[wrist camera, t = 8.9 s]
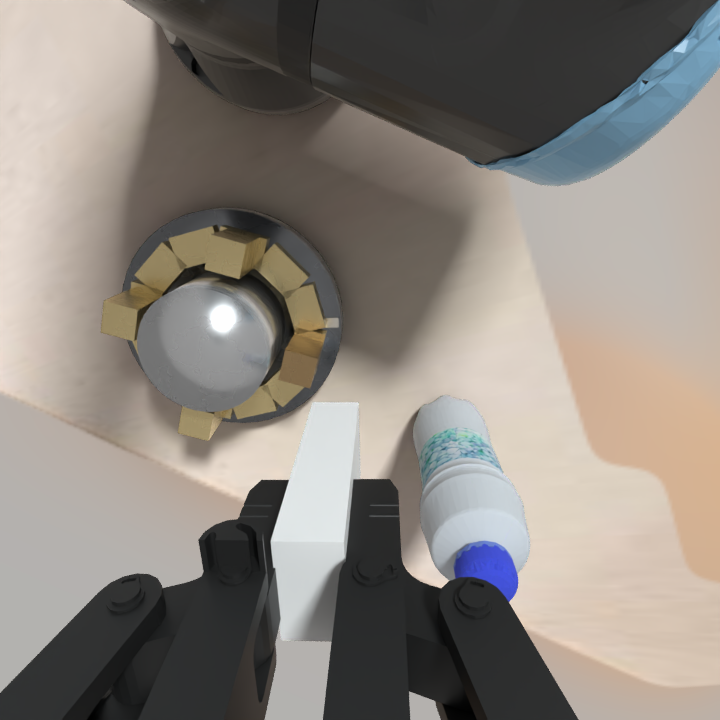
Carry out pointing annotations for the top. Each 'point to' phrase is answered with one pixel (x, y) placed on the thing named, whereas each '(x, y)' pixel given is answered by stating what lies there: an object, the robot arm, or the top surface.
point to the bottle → (468, 498)
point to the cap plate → (292, 249)
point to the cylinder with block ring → (235, 259)
